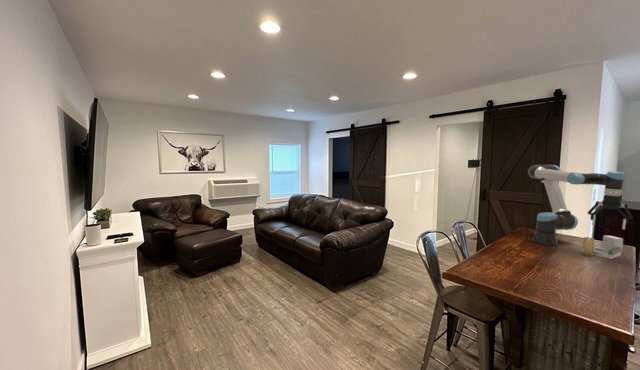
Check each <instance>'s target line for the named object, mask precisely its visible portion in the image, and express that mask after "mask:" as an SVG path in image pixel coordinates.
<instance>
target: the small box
mask: <svg viewBox="0 0 640 370" xmlns="http://www.w3.org/2000/svg"><path fill="white" fill-rule="evenodd" d="M623 245H624V238H623V237H617V236H615V235H614V236H613V235H603V237H602V245H601V246H602V247H601V248H605V249H609V250H610V249H613V248H616V247H620V248H621V254H622V253H623V248H624V247H623Z"/></svg>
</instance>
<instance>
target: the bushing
mask: <svg viewBox="0 0 640 370" xmlns="http://www.w3.org/2000/svg"><path fill="white" fill-rule="evenodd" d="M594 246H595V238H592V237H587V236H586V237H585V236H584V237H583V243H582V248H583V251H582V252H581V254H582V256H585V257H589V258H590V257H593V256H594V255H593V249H594Z"/></svg>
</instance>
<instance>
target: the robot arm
mask: <svg viewBox="0 0 640 370" xmlns="http://www.w3.org/2000/svg"><path fill="white" fill-rule="evenodd" d="M527 174H528V175H529V177H530V178H532V179H536V180H537V179H540V182H541V183H543V184H544V187H545V190H546V194H547V197H548V200H549V204H550V207H551V210H552V212H550V211H549V212H544V211H543V212H539V213H538V214H537V216H536V227H535V233H534V234H533V236H532V239H531V241H532V242H533V243H535V244H539V245H545V246H558V239H557V235H556V233H557V231H558V230H559V231H560V230H561V231H563V230H564V231H568V230H574V229H576V227H577V226H578V223H579V220H578V218H577V216H575V215H574V214H572V212H571V210H569V209H567V204H566V202H565V199H564V195H563V194H562V191H561V190H562V189H561V186H560V183H559V182H564V183H568V184H570V185H595V186H596V185H597V186H599V185H600V186H604V193H603V199H602V201H599V200H596V201H595V204H594V205H593V206H592V207H591V208H590V209H589V210H588V211H587V215H590V220H591V222H592V223H591V225H592V226H595V221H596V214H598V213H599V212H601V211H603V210H605V209H607V210H613V211H614V210H616V211H618V212H619V213H620V214H621V215H622V217H624V218H623V220H622V228H621V230H626V225H629V222H630V220H633V219H634V216H633V214H632V212H631V211H630V209H629V207H628V204H627V203H621V202H622V201H621V200H622V192H623V185H624V180H625V173H624V172H623V171H607V172H606V174H605V173H596V172H591V173H584V172H583V173H582V172H581V173H579V172H573V171H564V170H561V168H560V167H559V166H558V165H555V164H534V165H531V166H530V167H529V168H528V170H527ZM600 205H602V206H601V207H599V208H598V209H596V208H597V207H598V206H600ZM621 206H622V208H624V210H625V211H626V214H627V215H628V216H627V215H626V214H625V212H623V211H622V210H621V209H620V207H621ZM595 209H596V210H595ZM594 210H595V211H594ZM556 230H557V231H556Z"/></svg>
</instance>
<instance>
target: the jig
mask: <svg viewBox="0 0 640 370" xmlns="http://www.w3.org/2000/svg"><path fill="white" fill-rule="evenodd" d="M582 251H583V247H582V248H581V250H580V252H581V253H582ZM621 255H622V253H621V248H620V247H616V248H613V249H610V250H609V249H605V248H602V247H600V246H595V245H594V249H593V256H597V257H602V258H604V259H605V258H606V259H610V260H613V259H616V258H618V257H620V256H621Z"/></svg>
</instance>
